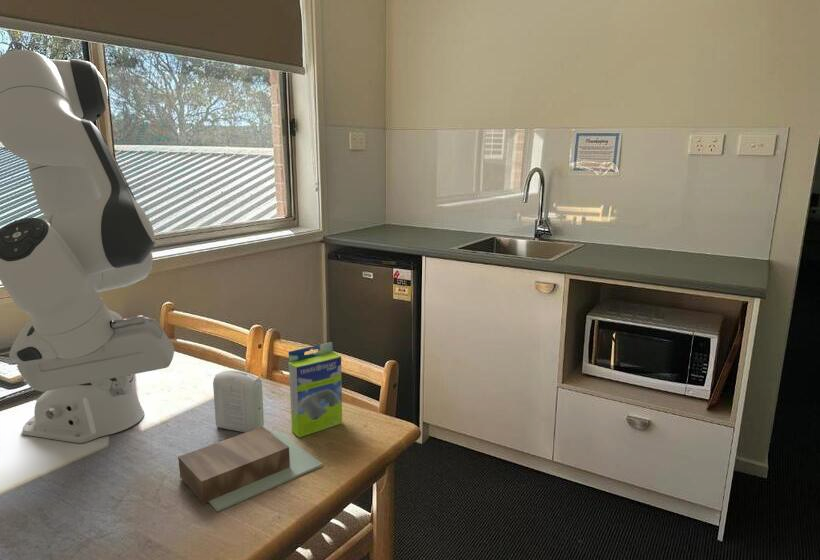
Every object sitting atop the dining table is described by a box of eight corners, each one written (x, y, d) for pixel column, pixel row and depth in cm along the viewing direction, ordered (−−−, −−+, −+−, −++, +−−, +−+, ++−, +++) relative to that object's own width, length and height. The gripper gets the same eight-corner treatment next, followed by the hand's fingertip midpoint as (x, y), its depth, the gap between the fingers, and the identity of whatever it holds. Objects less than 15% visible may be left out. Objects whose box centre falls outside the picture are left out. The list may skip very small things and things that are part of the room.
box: (299, 439, 113) (295, 357, 109) (289, 430, 116) (286, 351, 112) (344, 423, 119) (342, 346, 115) (334, 416, 122) (332, 340, 118)
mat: (217, 511, 90) (217, 509, 90) (179, 469, 102) (179, 467, 102) (322, 465, 103) (322, 463, 103) (278, 433, 115) (278, 431, 115)
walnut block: (201, 481, 91) (289, 447, 101) (178, 456, 98) (262, 426, 108) (203, 503, 92) (290, 467, 102) (180, 477, 99) (263, 445, 109)
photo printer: (267, 426, 118) (264, 371, 115) (256, 436, 114) (252, 379, 111) (225, 419, 121) (221, 365, 118) (212, 428, 117) (208, 372, 114)
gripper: (157, 299, 82) (191, 364, 90) (14, 326, 81) (62, 389, 89) (148, 328, 77) (185, 394, 85) (-5, 357, 76) (48, 421, 84)
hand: (121, 392), depth 87 cm, fingers closed
